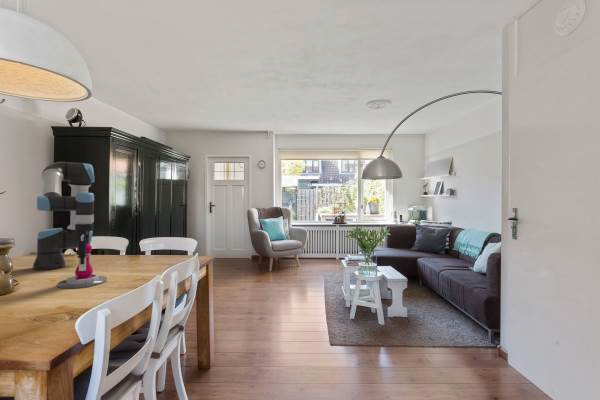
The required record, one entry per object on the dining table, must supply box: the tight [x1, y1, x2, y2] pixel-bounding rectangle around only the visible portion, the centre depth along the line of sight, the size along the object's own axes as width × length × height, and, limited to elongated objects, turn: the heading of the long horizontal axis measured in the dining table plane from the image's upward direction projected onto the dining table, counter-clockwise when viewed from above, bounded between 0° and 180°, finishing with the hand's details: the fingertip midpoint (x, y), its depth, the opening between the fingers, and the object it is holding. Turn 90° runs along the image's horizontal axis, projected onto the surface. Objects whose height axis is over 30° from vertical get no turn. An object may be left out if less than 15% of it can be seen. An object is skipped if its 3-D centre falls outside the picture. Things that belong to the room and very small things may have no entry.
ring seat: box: [57, 273, 108, 290], centre depth 149 cm, size 20×20×3 cm
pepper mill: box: [74, 244, 94, 280], centre depth 149 cm, size 7×7×20 cm
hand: (83, 268), depth 149 cm, fingers closed on pepper mill, 6 cm apart
